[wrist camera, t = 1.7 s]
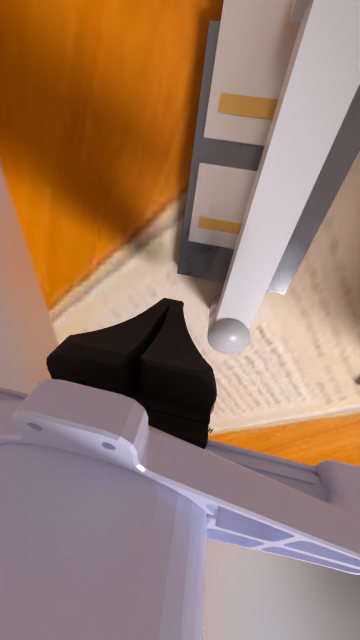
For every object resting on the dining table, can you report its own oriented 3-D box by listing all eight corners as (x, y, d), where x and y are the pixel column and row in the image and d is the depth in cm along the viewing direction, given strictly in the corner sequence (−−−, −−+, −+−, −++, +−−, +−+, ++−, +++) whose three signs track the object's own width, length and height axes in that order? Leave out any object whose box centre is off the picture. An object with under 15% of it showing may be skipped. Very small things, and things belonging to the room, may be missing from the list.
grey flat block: (409, 32, 7) (462, -12, 6) (261, 329, 16) (266, 344, 15) (212, 14, 8) (210, -31, 6) (173, 310, 17) (168, 323, 15)
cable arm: (241, 341, 15) (243, 357, 13) (204, 333, 15) (202, 348, 14) (419, -65, 5) (492, -159, 4) (313, -71, 6) (345, -162, 4)
